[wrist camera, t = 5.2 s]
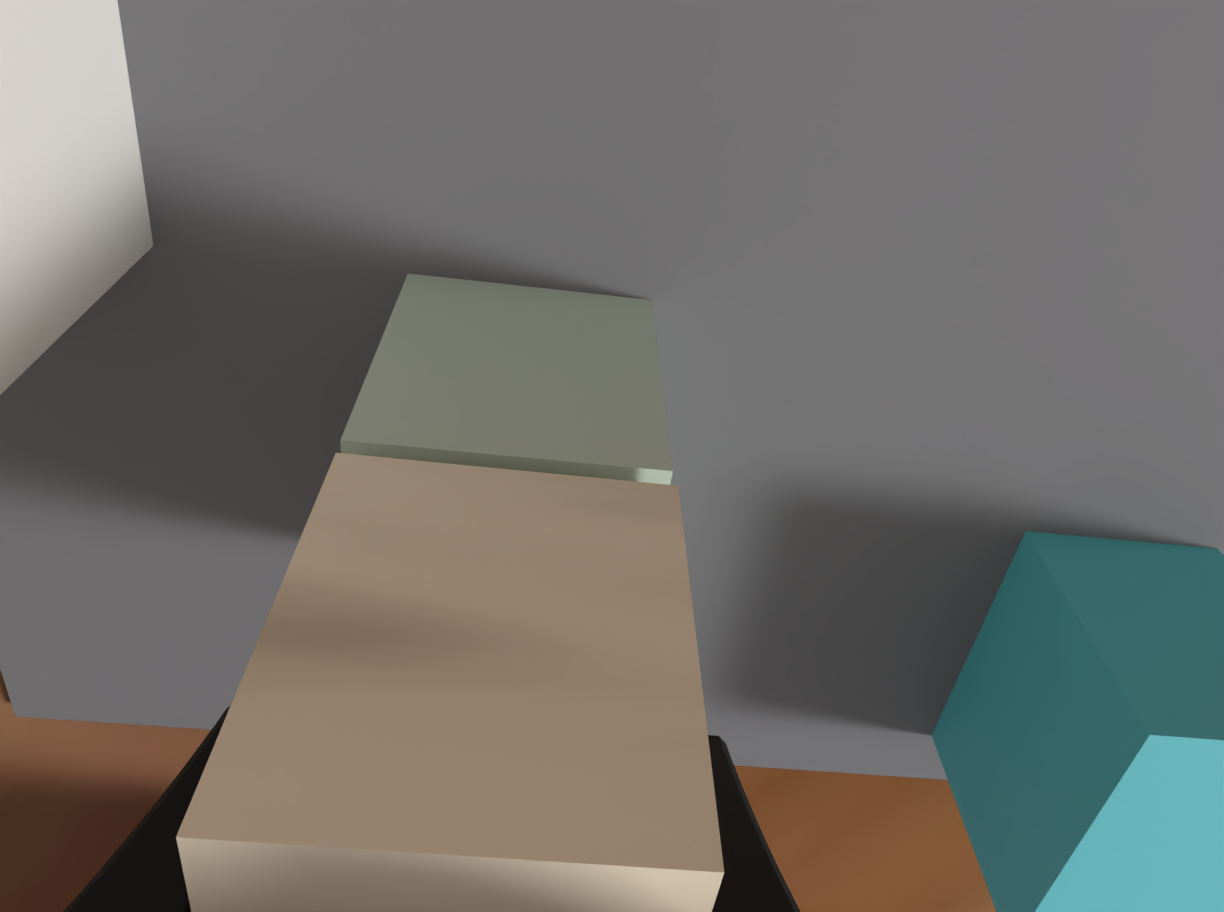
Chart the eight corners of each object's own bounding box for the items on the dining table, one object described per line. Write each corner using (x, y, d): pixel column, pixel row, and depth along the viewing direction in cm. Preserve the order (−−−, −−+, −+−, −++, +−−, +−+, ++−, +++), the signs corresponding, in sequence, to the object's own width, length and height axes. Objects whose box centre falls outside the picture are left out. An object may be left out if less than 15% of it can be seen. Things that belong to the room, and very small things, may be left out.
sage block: (607, 574, 19) (612, 784, 15) (405, 557, 19) (352, 767, 15) (651, 299, 16) (672, 470, 12) (407, 273, 16) (340, 440, 11)
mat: (1163, 784, 24) (1168, 794, 23) (22, 705, 21) (15, 716, 21) (1894, -276, 12) (1921, -278, 12) (-416, -690, 10) (-442, -704, 10)
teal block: (1096, 747, 22) (1211, 959, 18) (931, 735, 22) (1010, 948, 18) (1217, 548, 19) (1392, 752, 15) (1025, 531, 19) (1149, 734, 15)
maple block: (614, 802, 15) (621, 1194, 10) (348, 784, 14) (247, 1180, 10) (678, 485, 11) (723, 873, 7) (336, 452, 11) (177, 836, 7)
